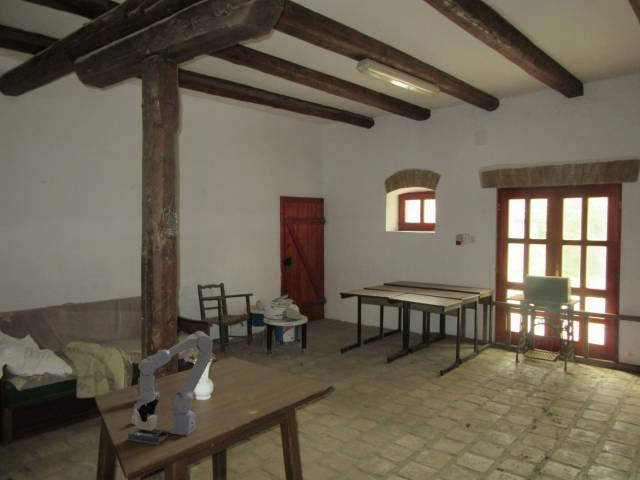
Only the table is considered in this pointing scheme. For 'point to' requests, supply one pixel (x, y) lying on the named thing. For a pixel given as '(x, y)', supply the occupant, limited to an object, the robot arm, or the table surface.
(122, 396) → the table surface
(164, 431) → the rail mount
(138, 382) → the travel mug
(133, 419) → the white wedge bracket
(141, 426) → the module
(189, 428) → the robot arm
